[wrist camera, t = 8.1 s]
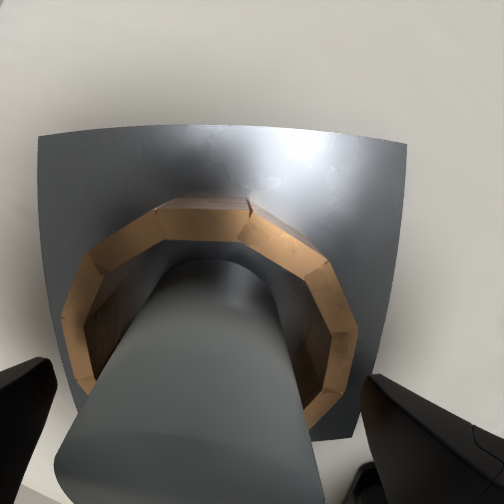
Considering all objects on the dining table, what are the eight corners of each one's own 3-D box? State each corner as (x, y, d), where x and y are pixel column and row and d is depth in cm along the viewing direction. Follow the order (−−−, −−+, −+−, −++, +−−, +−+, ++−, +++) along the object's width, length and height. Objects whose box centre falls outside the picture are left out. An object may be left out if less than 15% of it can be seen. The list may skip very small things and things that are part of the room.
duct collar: (347, 427, 15) (368, 479, 11) (87, 416, 14) (63, 465, 10) (397, 145, 11) (453, 140, 8) (48, 137, 11) (-10, 132, 7)
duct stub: (283, 261, 11) (357, 432, 4) (273, 376, 13) (301, 553, 5) (143, 256, 11) (13, 400, 3) (153, 371, 12) (97, 536, 5)
